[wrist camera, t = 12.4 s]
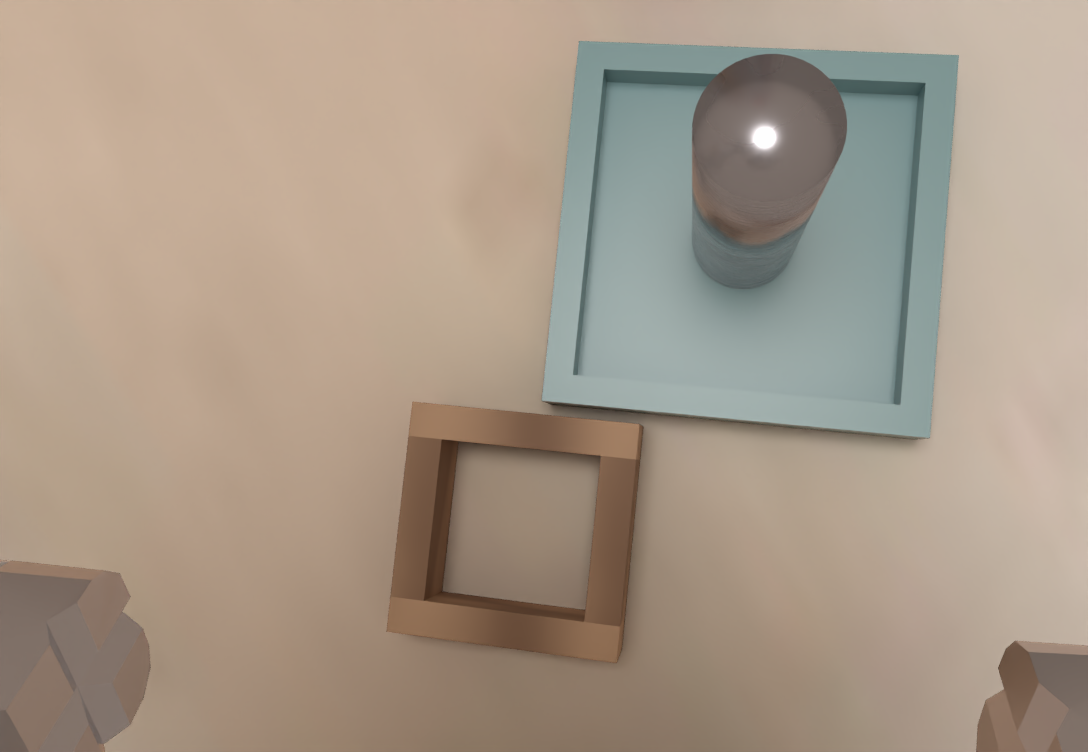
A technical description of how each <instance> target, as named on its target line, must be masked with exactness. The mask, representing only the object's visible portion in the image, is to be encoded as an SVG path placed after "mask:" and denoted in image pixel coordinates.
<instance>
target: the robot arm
mask: <svg viewBox="0 0 1088 752" xmlns="http://www.w3.org/2000/svg"><path fill="white" fill-rule="evenodd" d="M129 599H130V594H129V592H128V590H127V588H126V586H125V583H124V581H123V579H122V577H121V575H120V573H116V572H111V571H104V570H95V569H86V568H76V567H67V566H58V565H48V564H39V563H29V562H20V561H7V560H0V752H105V748H104V743H106V742H107V741H109V740H110V739H111V738H113V737H114V736H115V735H117V734H118V733H120V732H121V731H122V730H124V729H125V728H126V727H128V726H129V725H130V724H131V722H132V720H133V718H134V716H135V714H136V712H137V710H138V708H139V706H140V704H141V702H142V700H143V698H144V694H145V690H146V686H147V681H148V677H149V672H150V668H151V666H150V651H149V644H148V641H147V638H146V636H145V633H144V630H143V628H142V627H141V626H139V625H138V624H137V623H136V622H135V621H133V620H132V619H131V618H130V617H128V616H127V615H126V614H125V613H123V612H122V611H123V609H124V607H125V606H126V604H127V602H128V600H129ZM998 669H999V673H1000V676H1001V680H1002V683H1003V687H1004V690H1002V691H1000V692H999V693H997V694H995V695H994V696H992V697H990V698H989V699H987V700H986V701H985V704H984V707H983V710H982V713H981V716H980V719H979V722H978V729H977V746H976V752H1088V646H1087V645H1072V644H1057V643H1042V642H1027V641H1014V642H1013V643H1012V644H1011V645H1010V646H1009V647H1008V648H1006V650H1005V652H1004V655H1003V657H1002V660H1001V662H1000V664H999V667H998Z"/></svg>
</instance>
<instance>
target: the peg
mask: <svg viewBox="0 0 1088 752" xmlns="http://www.w3.org/2000/svg"><path fill="white" fill-rule="evenodd" d="M846 134H847V117H846V110H845V107H844V103H843V101H842V98H841V96H840V94H839V92H838V90H837V89H836V87H835V85H834V84H833V83H832V82H831V80H830V79H829V78H828V77H827V76H826V75H825V74H824V73H823V72H822V71H821V70H819V69H818V68H816V67H815V66H814V65H812V64H810V63H808V62H806V61H804V60H801V59H799V58H796V57H792V56H788V55H782V54H762V55H755V56H752V57H748V58H745V59H742V60H740V61H737V62H735V63H733V64H732V65H730V66H728V67H727V68H725V69H724V70H723V71H721V72H720V73H719V74H718V75H717V76H716V77H715V78H713V79H712V81H711V82H710V83H709V84H708V85H707V87H706V88H705V90H704V91H703V93H702V94H701V96H700V98H699V101H698V103H697V105H696V108H695V112H694V116H693V122H692V245H693V251H694V255H695V258H696V260H697V262H698V264H699V266H700V267H701V269H702V270H703V271H704V272H705V273H706V274H707V275H708V276H709V277H710V278H711V279H712V280H714V281H715V282H717V283H719V284H721V285H723V286H726V287H729V288H734V289H752V288H756V287H760V286H762V285H765V284H767V283H769V282H771V281H772V280H774V279H775V278H776V277H777V276H779V275H780V274H781V273H782V271H783V270H784V269H785V268H786V266H787V265H788V263H789V261H790V259H791V257H792V255H793V253H794V251H795V249H796V247H797V245H798V243H799V241H800V239H801V237H802V234H803V232H804V230H805V228H806V226H807V224H808V222H809V220H810V218H811V216H812V214H813V212H814V210H815V208H816V205H817V203H818V201H819V199H820V197H821V195H822V193H823V191H824V189H825V187H826V185H827V183H828V181H829V178H830V176H831V174H832V172H833V170H834V168H835V166H836V164H837V162H838V160H839V158H840V155H841V153H842V151H843V148H844V144H845V141H846Z"/></svg>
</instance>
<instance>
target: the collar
mask: <svg viewBox="0 0 1088 752" xmlns="http://www.w3.org/2000/svg"><path fill="white" fill-rule="evenodd" d="M642 435H643V426H641V425H640V424H633V423H622V422H612V421H602V420H592V419H582V418H572V417H562V416H551V415H541V414H531V413H521V412H511V411H501V410H490V409H480V408H470V407H460V406H450V405H440V404H430V403H419V402H412V410H411V419H410V428H409V437H408V446H407V454H406V463H405V472H404V481H403V490H402V499H401V508H400V516H399V525H398V534H397V543H396V552H395V561H394V569H393V578H392V587H391V596H390V605H389V614H388V623H387V631H386V632H394V633H401V634H408V635H416V636H423V637H430V638H437V639H445V640H452V641H459V642H467V643H474V644H481V645H488V646H496V647H503V648H510V649H518V650H525V651H532V652H539V653H547V654H554V655H561V656H569V657H576V658H583V659H590V660H598V661H605V662H612V663H617V660H618V658H619V655H620V653H621V650H622V643H623V632H624V622H625V612H626V601H627V591H628V580H629V570H630V560H631V549H632V539H633V528H634V518H635V508H636V497H637V487H638V476H639V466H640V456H641V445H642ZM458 441H463V442H473V443H483V444H492V445H502V446H511V447H521V448H531V449H540V450H550V451H559V452H569V453H579V454H588V455H598V456H601V459H600V469H599V479H598V489H597V499H596V509H595V519H594V530H593V540H592V550H591V560H590V570H589V580H588V590H587V600H586V610H580V609H572V608H564V607H557V606H549V605H541V604H533V603H526V602H518V601H510V600H502V599H495V598H487V597H479V596H471V595H464V594H456V593H448V592H442V587H443V578H444V569H445V560H446V551H447V542H448V533H449V523H450V514H451V505H452V496H453V487H454V478H455V469H456V459H457V450H458Z"/></svg>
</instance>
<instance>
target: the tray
mask: <svg viewBox="0 0 1088 752" xmlns="http://www.w3.org/2000/svg"><path fill="white" fill-rule="evenodd" d="M762 54H782V55H788V56H792V57H796V58H799V59H801V60H804V61H806V62H808V63H810V64H812V65H814V66H815V67H816V68H818V69H819V70H821V71H822V72H823V73H824V74H825V75H826V76H827V77H828V78H829V79H830V80H831V82H832V83H833V84H834V85H835V87H836V89H837V90H838V92H839V94H840V96H841V98H842V101H843V103H844V107H845V110H846V117H847V134H846V141H845V144H844V148H843V151H842V153H841V155H840V158H839V160H838V162H837V164H836V166H835V168H834V170H833V172H832V174H831V176H830V178H829V181H828V183H827V185H826V187H825V189H824V191H823V193H822V195H821V197H820V199H819V201H818V203H817V205H816V208H815V210H814V212H813V214H812V216H811V218H810V220H809V222H808V224H807V226H806V228H805V230H804V232H803V234H802V237H801V239H800V241H799V243H798V245H797V247H796V249H795V251H794V253H793V255H792V257H791V259H790V261H789V263H788V265H787V266H786V268H785V269H784V270H783V271H782V273H781V274H780V275H779V276H777V277H776V278H775V279H774V280H772V281H771V282H769V283H767V284H765V285H762V286H760V287H756V288H752V289H734V288H729V287H726V286H723V285H721V284H719V283H717V282H715V281H714V280H712V279H711V278H710V277H709V276H708V275H707V274H706V273H705V272H704V271H703V270H702V269H701V267H700V266H699V264H698V262H697V260H696V258H695V255H694V251H693V245H692V122H693V116H694V112H695V108H696V105H697V103H698V101H699V98H700V96H701V94H702V93H703V91H704V90H705V88H706V87H707V85H708V84H709V83H710V82H711V81H712V79H713V78H715V77H716V76H717V75H718V74H719V73H720V72H721V71H723V70H724V69H725V68H727V67H728V66H730V65H732V64H733V63H735V62H737V61H740V60H742V59H745V58H748V57H752V56H755V55H762ZM958 58H959V55H936V54H910V53H883V52H857V51H830V50H803V49H777V48H750V47H723V46H697V45H670V44H643V43H617V42H590V41H579V46H578V56H577V66H576V75H575V85H574V95H573V104H572V114H571V124H570V133H569V143H568V152H567V162H566V172H565V181H564V191H563V201H562V210H561V220H560V230H559V239H558V249H557V259H556V268H555V278H554V287H553V297H552V307H551V316H550V326H549V336H548V345H547V355H546V365H545V374H544V384H543V394H542V401H544V402H546V403H549V404H555V405H566V406H576V407H586V408H597V409H607V410H617V411H628V412H638V413H648V414H659V415H669V416H679V417H690V418H700V419H710V420H721V421H731V422H742V423H752V424H762V425H773V426H783V427H793V428H804V429H814V430H824V431H835V432H845V433H855V434H866V435H876V436H886V437H897V438H907V439H925V438H930V429H931V415H932V402H933V389H934V376H935V362H936V349H937V336H938V323H939V309H940V296H941V283H942V270H943V257H944V243H945V230H946V217H947V204H948V190H949V177H950V164H951V151H952V138H953V124H954V111H955V98H956V85H957V71H958Z"/></svg>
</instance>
